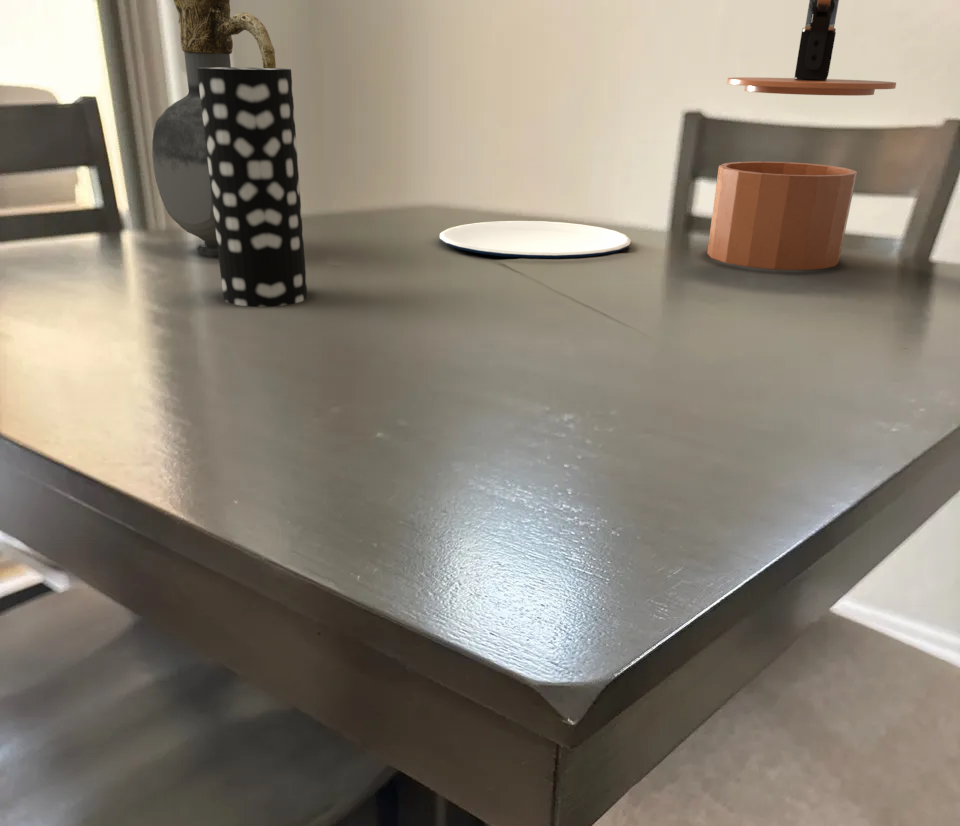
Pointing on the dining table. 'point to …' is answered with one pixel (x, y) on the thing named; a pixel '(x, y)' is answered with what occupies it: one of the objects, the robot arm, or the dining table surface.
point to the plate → (534, 239)
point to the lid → (811, 85)
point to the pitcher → (198, 116)
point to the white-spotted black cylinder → (254, 183)
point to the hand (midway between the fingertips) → (811, 76)
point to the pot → (780, 214)
